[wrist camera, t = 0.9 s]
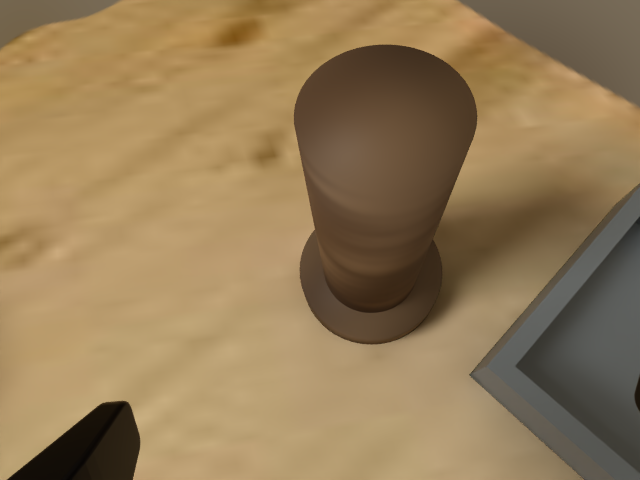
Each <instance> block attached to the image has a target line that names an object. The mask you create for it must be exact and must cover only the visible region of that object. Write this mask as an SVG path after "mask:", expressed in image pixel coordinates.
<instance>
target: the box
mask: <svg viewBox="0 0 640 480" xmlns="http://www.w3.org/2000/svg"><path fill="white" fill-rule="evenodd" d="M639 375H640V184H638V185H637V186H636V187H635V188H634V189H633V190H632V191H630V192H629V193H628V194H627V195H626V196H625V197H624V198H622V199H621V200H620V201H619V202H618V203H617V204H616V205H615V206H614V207H613V208H612V209H611V211H610V212H609V213H608V214H607V215H606V216H605V218H604V219H603V220H602V221H601V222H600V223H599V225H598V226H597V227H596V228H595V229H594V230H593V232H592V233H591V234H590V235H589V236H588V237H587V239H586V240H585V241H584V242H583V243H582V244H581V246H580V247H579V248H578V249H577V250H576V251H575V252H574V254H573V255H572V256H571V257H570V258H569V259H568V261H567V262H566V263H565V264H564V265H563V266H562V268H561V269H560V270H559V271H558V272H557V273H556V275H555V276H554V277H553V278H552V279H551V280H550V282H549V283H548V284H547V285H546V286H545V287H544V289H543V290H542V291H541V292H540V293H539V294H538V296H537V297H536V298H535V299H534V300H533V301H532V302H531V304H530V305H529V306H528V307H527V308H526V309H525V311H524V312H523V313H522V314H521V315H520V316H519V318H518V319H517V320H516V321H515V322H514V323H513V325H512V326H511V327H510V328H509V329H508V330H507V332H506V333H505V334H504V335H503V336H502V337H501V339H500V340H499V341H498V342H497V343H496V344H495V345H494V347H493V348H492V349H491V350H490V351H489V352H488V354H487V355H486V356H485V357H484V358H483V359H482V361H481V362H480V363H479V364H478V365H477V366H476V368H475V369H474V370H473V371H472V372H471V373H470V376H471V377H472V378H473V379H474V380H475V381H476V382H477V383H479V384H480V385H481V386H482V387H483V388H484V389H485V390H486V391H487V392H488V393H490V394H491V395H492V396H493V397H494V398H495V399H496V400H497V401H498V402H499V403H501V404H502V405H503V406H504V407H505V408H506V409H507V410H508V411H509V412H511V413H512V414H513V415H514V416H515V417H516V418H517V419H518V420H519V421H520V422H522V423H523V424H524V425H525V426H526V427H527V428H528V429H529V430H530V431H532V432H533V433H534V434H535V435H536V436H537V437H538V438H539V439H540V440H541V441H543V442H544V443H545V444H546V445H547V446H548V447H549V448H550V449H551V450H553V451H554V452H555V453H556V454H557V455H558V456H559V457H560V458H561V459H562V460H564V461H565V462H566V463H567V464H568V465H569V466H570V467H571V468H572V469H573V470H575V471H576V472H577V473H578V474H579V475H580V476H581V477H582V478H583V479H585V480H640V412H639V410H638V408H637V406H636V403H635V399H634V393H635V389H636V386H637V382H638V378H639Z"/></svg>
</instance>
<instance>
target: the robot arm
mask: <svg viewBox="0 0 640 480" xmlns="http://www.w3.org/2000/svg"><path fill="white" fill-rule="evenodd" d="M634 399H635V403H636V406H637V408H638V410H639V412H640V375H639V378H638V382H637V386H636V389H635V393H634ZM139 450H140V435H139V432H138V428H137V425H136V422H135V418H134V415H133V412H132V409H131V406H130V404H129V403H128V402H126V401H115V402H105V403H102V404H100V405H99V406H97V407H96V408H95V409H94V410H93V411H91V412H90V413H89V414H88V415H86V416H85V417H84V418H83V419H81V420H80V421H79V422H78V423H76V424H75V425H74V426H73V427H72V428H70V429H69V430H68V431H67V432H65V433H64V434H63V435H62V436H60V437H59V438H58V439H57V440H55V441H54V442H53V443H52V444H51V445H49V446H48V447H47V448H46V449H44V450H43V451H42V452H41V453H39V454H38V455H37V456H36V457H34V458H33V459H32V460H31V461H29V462H28V463H27V464H26V465H25V466H23V467H22V468H21V469H20V470H18V471H17V472H16V473H15V474H13V475H12V476H11V477H10V478H8V479H7V480H133V476H134V472H135V468H136V463H137V459H138V455H139Z"/></svg>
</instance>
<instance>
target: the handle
mask: <svg viewBox="0 0 640 480" xmlns="http://www.w3.org/2000/svg"><path fill="white" fill-rule="evenodd" d="M294 125H295V130H296V135H297V140H298V146H299V151H300V156H301V161H302V166H303V171H304V176H305V181H306V186H307V191H308V196H309V201H310V206H311V211H312V216H313V221H314V226H315V230H314V231H313V233H312V234H311V235H310V237H309V239H308V241H307V242H306V244H305V247H304V249H303V252H302V256H301V261H300V279H301V285H302V288H303V291H304V295H305V297H306V300H307V303H308V305H309V307H310V309H311V311H312V312H313V314H314V315H315V317H316V318H317V319H318V320H319V321H320V323H321V324H322V325H323V326H325V327H326V328H327V329H328V330H329V331H331V332H332V333H334V334H335V335H337V336H339V337H341V338H343V339H346V340H349V341H351V342H355V343H360V344H382V343H387V342H391V341H394V340H397V339H399V338H401V337H403V336H405V335H407V334H409V333H410V332H411V331H413V330H414V329H415V328H416V327H417V326H419V325H420V324H421V322H422V321H423V320H424V319H425V318H426V316H427V315H428V313H429V311H430V310H431V308H432V306H433V305H434V303H435V301H436V299H437V297H438V294H439V291H440V287H441V282H442V264H441V258H440V255H439V252H438V249H437V247H436V245H435V243H434V241H433V237H434V235H435V232H436V230H437V227H438V225H439V222H440V220H441V217H442V215H443V212H444V210H445V207H446V205H447V202H448V200H449V197H450V195H451V192H452V190H453V187H454V185H455V182H456V180H457V177H458V175H459V172H460V170H461V167H462V165H463V162H464V160H465V157H466V155H467V152H468V150H469V147H470V145H471V142H472V140H473V137H474V134H475V130H476V125H477V109H476V104H475V100H474V97H473V95H472V92H471V90H470V88H469V87H468V85H467V83H466V82H465V80H464V79H463V78H462V77H461V76H460V74H459V73H458V72H457V71H456V70H455V69H453V68H452V67H451V66H450V65H449V64H447V63H446V62H444V61H443V60H441V59H439V58H438V57H436V56H434V55H432V54H429V53H427V52H424V51H422V50H418V49H415V48H411V47H406V46H399V45H372V46H366V47H361V48H356V49H353V50H350V51H347V52H345V53H342V54H340V55H338V56H336V57H334V58H332V59H330V60H329V61H327V62H326V63H324V64H323V65H321V66H320V67H319V68H318V69H317V70H316V71H315V72H314V73H313V74H312V75H311V76H310V77H309V78H308V79H307V81H306V82H305V84H304V85H303V87H302V88H301V91H300V93H299V95H298V97H297V101H296V104H295V110H294Z"/></svg>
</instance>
